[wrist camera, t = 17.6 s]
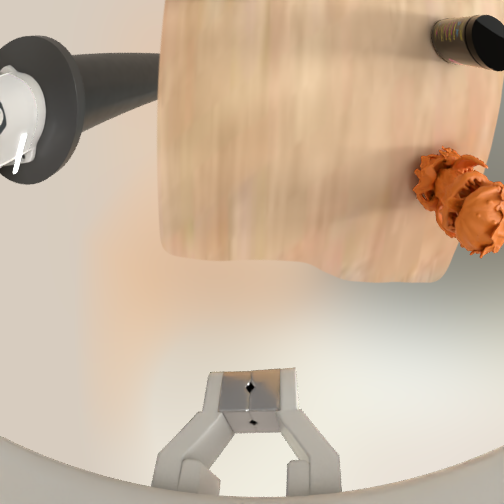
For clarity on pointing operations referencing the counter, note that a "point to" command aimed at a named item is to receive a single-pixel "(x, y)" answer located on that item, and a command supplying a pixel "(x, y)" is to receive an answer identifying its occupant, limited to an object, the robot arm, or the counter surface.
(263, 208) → the counter surface
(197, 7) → the counter surface
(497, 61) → the supplement container
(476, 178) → the toy dinosaur
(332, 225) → the counter surface
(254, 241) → the counter surface
